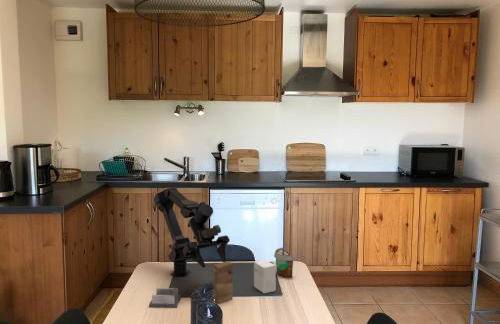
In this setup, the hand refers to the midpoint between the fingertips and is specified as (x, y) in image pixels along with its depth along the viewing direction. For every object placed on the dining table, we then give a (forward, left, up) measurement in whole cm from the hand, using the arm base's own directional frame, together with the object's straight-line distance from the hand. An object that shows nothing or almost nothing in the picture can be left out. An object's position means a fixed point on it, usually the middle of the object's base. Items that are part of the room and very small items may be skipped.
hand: (214, 264), depth 157 cm
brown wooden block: (+4, +4, -12) cm, 13 cm away
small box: (-10, +17, -12) cm, 24 cm away
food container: (-27, +21, -12) cm, 37 cm away
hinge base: (+11, -16, -12) cm, 22 cm away
